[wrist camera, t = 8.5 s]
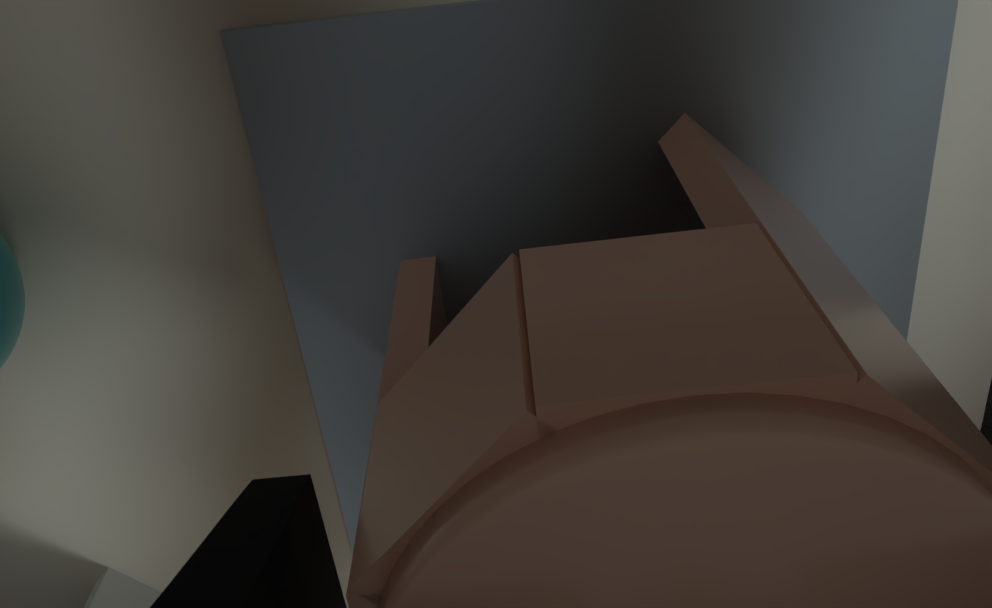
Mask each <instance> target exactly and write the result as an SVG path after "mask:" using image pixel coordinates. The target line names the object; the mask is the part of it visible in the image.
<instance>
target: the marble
mask: <svg viewBox="0 0 992 608" xmlns="http://www.w3.org/2000/svg"><path fill="white" fill-rule="evenodd" d="M24 311H25V291H24V284H23V279H22V274H21V271H20V269H19V266H18V263H17V261H16V259H15V257H14V255H13V253H12V251H11V249H10V247H9V246H8V244H7V243H6V241H5V240H4V238H3V237H2V236H1V235H0V368H1V367H2V366H3V364H4V363H5V362H6V360H7V359H8V357H9V356H10V354H11V352H12V350H13V348H14V346H15V345H16V342H17V340H18V337H19V335H20V331H21V328H22V325H23V318H24Z"/></svg>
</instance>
